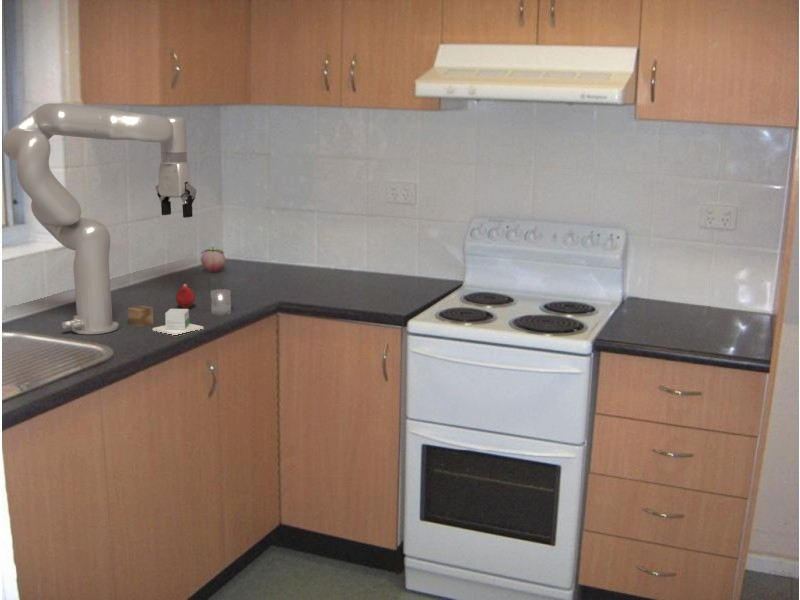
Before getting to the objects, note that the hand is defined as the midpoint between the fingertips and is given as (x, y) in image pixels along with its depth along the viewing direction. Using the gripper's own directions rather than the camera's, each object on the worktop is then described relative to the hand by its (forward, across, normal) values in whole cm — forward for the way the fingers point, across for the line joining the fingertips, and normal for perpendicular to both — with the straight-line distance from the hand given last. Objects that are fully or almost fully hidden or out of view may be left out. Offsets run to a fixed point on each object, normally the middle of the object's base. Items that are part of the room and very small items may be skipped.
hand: (177, 215), depth 264 cm
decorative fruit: (+31, -44, +53) cm, 75 cm away
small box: (+30, +15, -14) cm, 36 cm away
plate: (+30, +15, -14) cm, 37 cm away
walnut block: (+30, +1, -16) cm, 34 cm away
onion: (+31, -4, +5) cm, 31 cm away
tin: (+30, +9, +8) cm, 33 cm away
